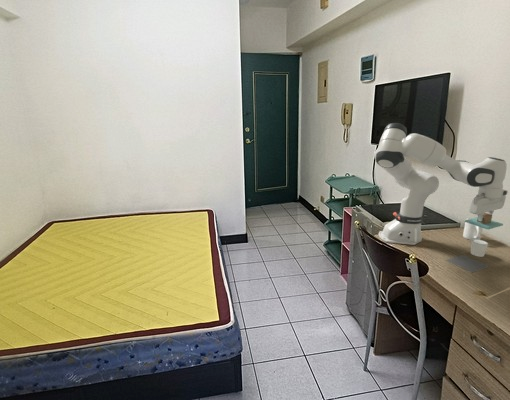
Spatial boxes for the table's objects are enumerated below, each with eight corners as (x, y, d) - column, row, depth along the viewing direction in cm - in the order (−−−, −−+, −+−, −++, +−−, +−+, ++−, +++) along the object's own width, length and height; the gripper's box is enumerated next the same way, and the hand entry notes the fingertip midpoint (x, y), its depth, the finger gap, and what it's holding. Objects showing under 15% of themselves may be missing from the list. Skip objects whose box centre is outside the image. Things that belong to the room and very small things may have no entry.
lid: (487, 229, 149) (490, 219, 147) (464, 221, 159) (466, 212, 157) (502, 225, 153) (504, 215, 152) (479, 218, 163) (481, 209, 161)
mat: (472, 273, 145) (472, 272, 145) (445, 261, 156) (445, 260, 156) (489, 266, 151) (490, 266, 150) (462, 255, 162) (462, 254, 162)
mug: (485, 244, 173) (489, 226, 170) (468, 243, 175) (471, 225, 172) (476, 235, 184) (480, 218, 181) (460, 234, 186) (463, 217, 183)
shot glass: (485, 259, 158) (488, 246, 156) (469, 255, 161) (471, 243, 159) (485, 253, 163) (487, 240, 161) (469, 250, 167) (471, 238, 165)
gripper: (482, 196, 144) (476, 225, 149) (510, 190, 152) (504, 218, 156) (468, 193, 150) (463, 221, 154) (496, 187, 158) (490, 214, 162)
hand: (484, 219), depth 155 cm, fingers closed on lid, 4 cm apart
